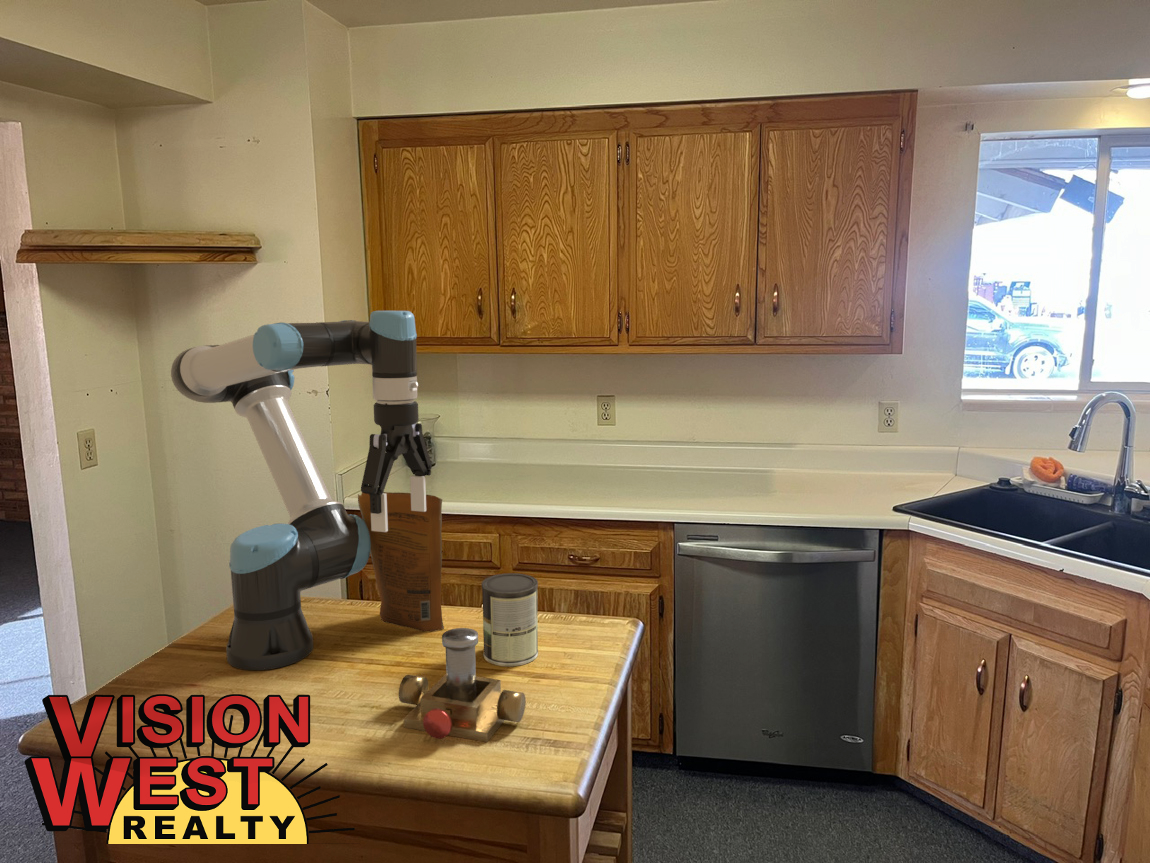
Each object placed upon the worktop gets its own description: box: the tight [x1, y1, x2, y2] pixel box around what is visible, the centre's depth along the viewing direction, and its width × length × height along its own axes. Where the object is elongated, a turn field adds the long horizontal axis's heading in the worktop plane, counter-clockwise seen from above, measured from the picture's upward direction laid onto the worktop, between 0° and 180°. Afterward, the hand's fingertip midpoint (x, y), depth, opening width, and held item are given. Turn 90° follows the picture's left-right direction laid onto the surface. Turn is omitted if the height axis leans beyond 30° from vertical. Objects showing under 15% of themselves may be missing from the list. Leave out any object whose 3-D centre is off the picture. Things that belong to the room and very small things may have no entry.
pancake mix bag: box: [357, 491, 445, 632], centre depth 163 cm, size 7×19×28 cm, turn 62°
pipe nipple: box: [441, 627, 479, 703], centre depth 128 cm, size 6×6×12 cm
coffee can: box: [481, 572, 539, 667], centre depth 150 cm, size 10×10×14 cm
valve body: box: [398, 673, 527, 743], centre depth 128 cm, size 20×15×5 cm
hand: (400, 520), depth 143 cm, fingers open, 13 cm apart
